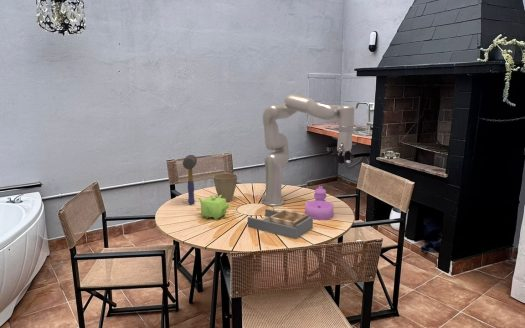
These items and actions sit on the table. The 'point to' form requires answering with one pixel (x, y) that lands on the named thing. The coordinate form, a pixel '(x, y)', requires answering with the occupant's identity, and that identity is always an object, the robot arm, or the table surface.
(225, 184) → the plant pot
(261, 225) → the tray
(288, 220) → the crate
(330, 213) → the container set
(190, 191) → the rubber mallet
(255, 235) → the table surface
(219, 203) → the green lumpy block
